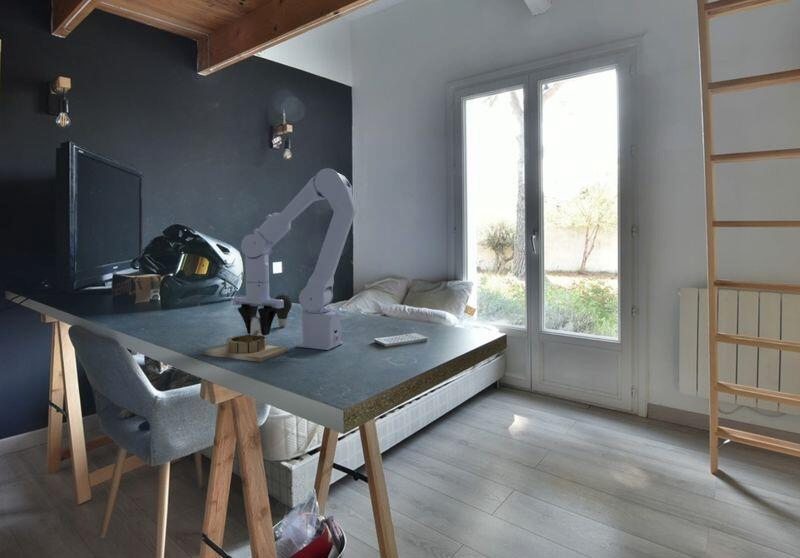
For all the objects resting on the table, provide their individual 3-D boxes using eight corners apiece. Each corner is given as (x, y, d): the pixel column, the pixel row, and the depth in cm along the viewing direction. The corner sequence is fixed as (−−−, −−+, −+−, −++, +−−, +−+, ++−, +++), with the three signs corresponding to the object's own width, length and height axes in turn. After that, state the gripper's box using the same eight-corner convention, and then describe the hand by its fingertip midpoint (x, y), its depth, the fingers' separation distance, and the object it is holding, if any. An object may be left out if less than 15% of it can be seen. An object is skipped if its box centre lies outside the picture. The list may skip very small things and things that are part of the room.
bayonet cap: (259, 340, 123) (258, 314, 122) (271, 341, 121) (271, 315, 121) (245, 344, 118) (244, 317, 117) (258, 346, 116) (257, 318, 116)
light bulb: (287, 329, 137) (286, 296, 137) (269, 328, 139) (269, 295, 138) (295, 325, 143) (294, 293, 142) (278, 324, 144) (277, 293, 143)
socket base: (287, 351, 111) (287, 337, 111) (260, 362, 102) (260, 346, 102) (234, 345, 117) (234, 331, 117) (204, 354, 108) (204, 339, 107)
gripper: (290, 281, 119) (291, 333, 121) (245, 279, 125) (246, 328, 126) (273, 284, 113) (274, 338, 114) (226, 281, 118) (227, 333, 119)
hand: (258, 334), depth 119 cm, fingers closed on bayonet cap, 4 cm apart
